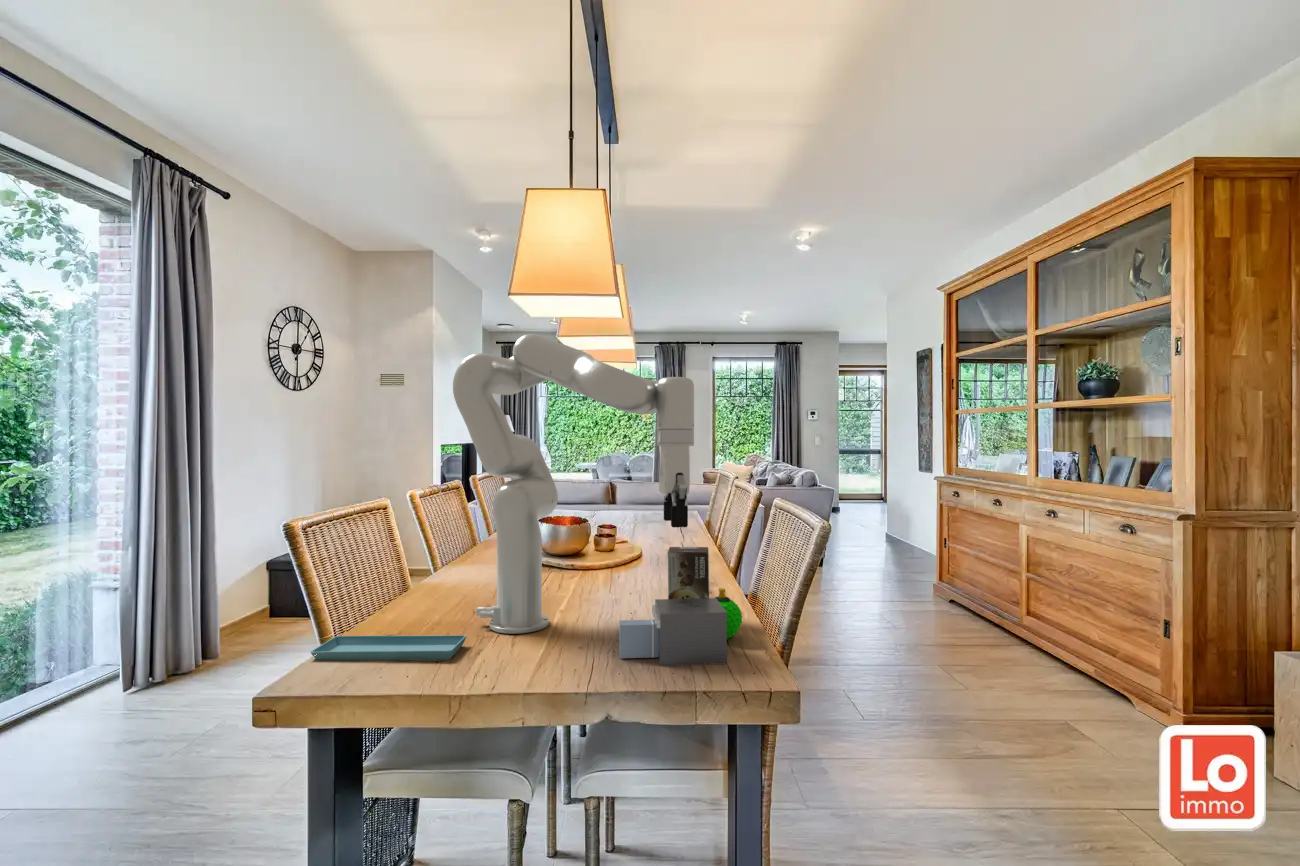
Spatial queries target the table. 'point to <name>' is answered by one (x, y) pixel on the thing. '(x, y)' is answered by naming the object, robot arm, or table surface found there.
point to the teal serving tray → (390, 647)
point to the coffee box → (688, 572)
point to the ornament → (730, 613)
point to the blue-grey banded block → (639, 639)
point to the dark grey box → (691, 631)
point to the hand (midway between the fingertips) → (675, 523)
